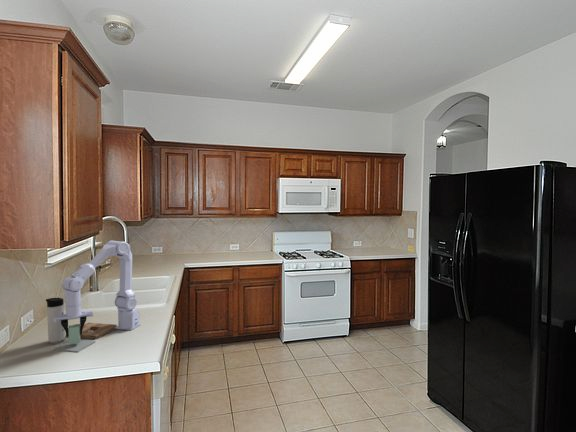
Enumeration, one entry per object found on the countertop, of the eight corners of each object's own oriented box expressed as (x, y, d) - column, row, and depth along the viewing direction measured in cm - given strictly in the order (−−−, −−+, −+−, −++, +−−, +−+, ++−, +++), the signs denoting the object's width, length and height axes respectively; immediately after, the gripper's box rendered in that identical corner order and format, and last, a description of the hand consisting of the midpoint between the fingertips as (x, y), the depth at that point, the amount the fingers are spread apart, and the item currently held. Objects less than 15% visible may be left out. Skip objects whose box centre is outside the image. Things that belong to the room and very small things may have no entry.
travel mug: (45, 341, 154) (43, 298, 153) (62, 337, 159) (60, 295, 158) (50, 345, 150) (48, 301, 149) (67, 340, 155) (65, 297, 154)
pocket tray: (116, 327, 171) (116, 324, 171) (96, 339, 157) (96, 336, 157) (88, 325, 173) (88, 322, 173) (66, 336, 160) (65, 333, 160)
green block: (80, 339, 152) (79, 323, 152) (79, 342, 149) (79, 326, 149) (69, 340, 150) (69, 325, 150) (68, 344, 147) (68, 328, 147)
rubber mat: (95, 342, 154) (95, 341, 154) (78, 352, 144) (77, 351, 144) (72, 340, 156) (72, 339, 156) (53, 350, 146) (53, 348, 146)
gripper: (92, 299, 156) (93, 328, 157) (53, 304, 148) (55, 335, 149) (92, 303, 150) (93, 334, 151) (52, 309, 142) (54, 341, 143)
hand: (74, 335), depth 149 cm, fingers closed on green block, 4 cm apart
